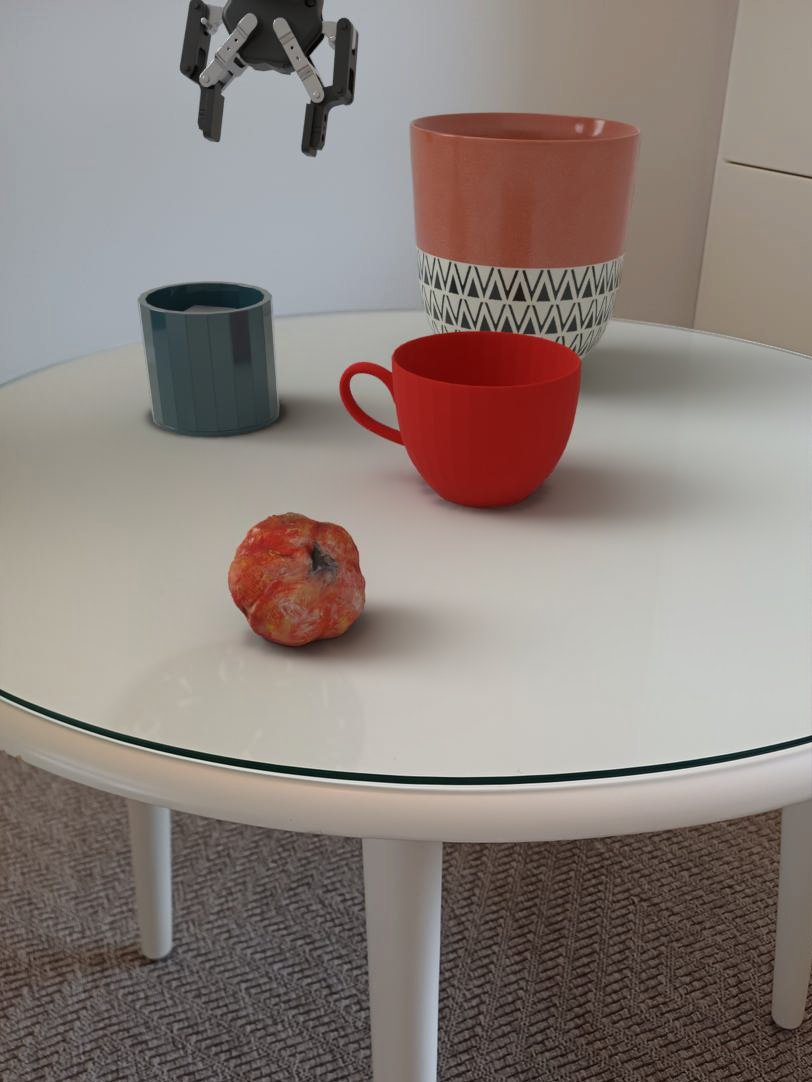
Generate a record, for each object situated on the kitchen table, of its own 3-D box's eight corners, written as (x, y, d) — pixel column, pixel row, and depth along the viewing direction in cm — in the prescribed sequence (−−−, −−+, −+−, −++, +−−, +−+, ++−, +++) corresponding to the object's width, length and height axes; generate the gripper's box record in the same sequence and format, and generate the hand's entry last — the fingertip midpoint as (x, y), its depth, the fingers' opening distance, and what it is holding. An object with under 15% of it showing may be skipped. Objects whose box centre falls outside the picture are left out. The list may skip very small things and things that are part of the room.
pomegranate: (220, 663, 65) (252, 637, 56) (208, 539, 66) (237, 494, 57) (344, 653, 68) (394, 627, 59) (331, 534, 69) (378, 490, 59)
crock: (143, 441, 88) (126, 313, 83) (164, 398, 97) (150, 280, 92) (274, 441, 89) (265, 314, 84) (284, 399, 98) (276, 281, 93)
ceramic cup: (366, 448, 88) (363, 320, 83) (580, 468, 86) (590, 338, 81) (317, 515, 77) (309, 373, 72) (561, 540, 75) (571, 394, 70)
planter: (470, 334, 117) (474, 107, 106) (648, 364, 109) (673, 123, 98) (371, 386, 101) (365, 127, 91) (570, 424, 94) (589, 147, 83)
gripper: (181, -97, 87) (160, 124, 91) (357, -75, 86) (329, 149, 89) (217, -58, 95) (196, 146, 98) (380, -37, 93) (353, 169, 97)
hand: (259, 147), depth 94 cm, fingers open, 8 cm apart
